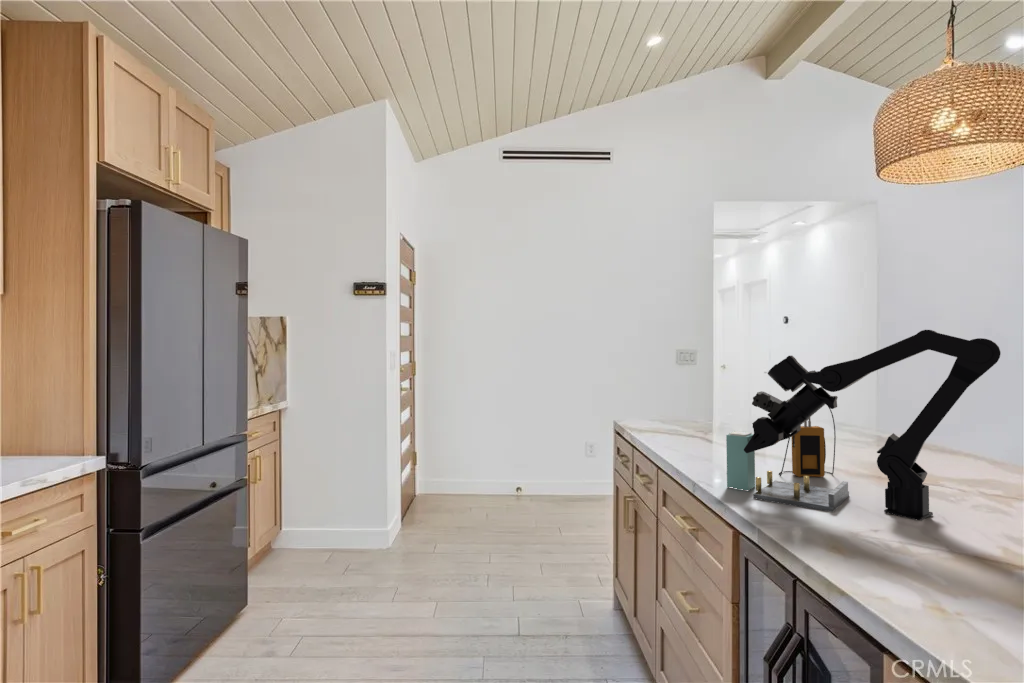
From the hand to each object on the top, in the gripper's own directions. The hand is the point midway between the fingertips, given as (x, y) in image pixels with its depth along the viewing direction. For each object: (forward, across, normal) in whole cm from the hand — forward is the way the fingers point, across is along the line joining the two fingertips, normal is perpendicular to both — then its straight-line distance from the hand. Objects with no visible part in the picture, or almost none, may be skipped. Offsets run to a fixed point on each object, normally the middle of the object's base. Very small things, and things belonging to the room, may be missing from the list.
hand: (751, 448), depth 134 cm
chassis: (-1, 0, +14) cm, 14 cm away
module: (+9, 0, +5) cm, 10 cm away
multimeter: (+4, -26, +10) cm, 28 cm away
